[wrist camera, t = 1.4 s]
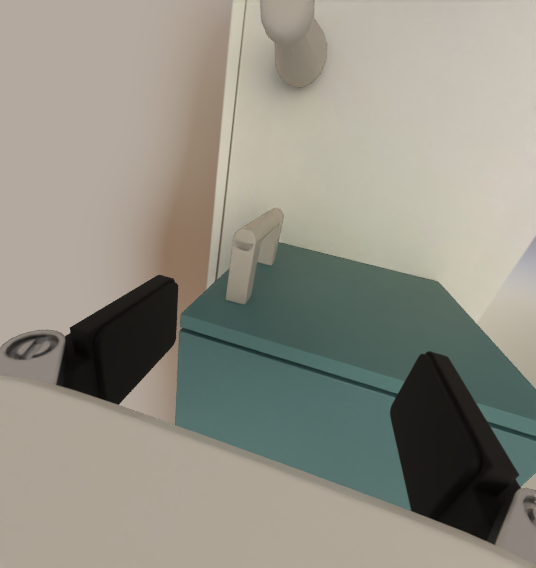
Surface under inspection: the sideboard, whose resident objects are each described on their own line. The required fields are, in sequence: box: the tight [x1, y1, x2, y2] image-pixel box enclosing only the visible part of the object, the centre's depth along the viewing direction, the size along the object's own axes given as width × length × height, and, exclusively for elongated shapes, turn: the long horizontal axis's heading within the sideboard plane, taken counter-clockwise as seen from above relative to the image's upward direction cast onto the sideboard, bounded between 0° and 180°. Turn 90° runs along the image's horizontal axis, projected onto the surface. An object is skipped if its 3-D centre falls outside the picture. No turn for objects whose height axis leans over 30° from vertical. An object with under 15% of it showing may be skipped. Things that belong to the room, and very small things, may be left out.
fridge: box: [175, 328, 536, 511], centre depth 33 cm, size 18×26×24 cm
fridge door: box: [180, 208, 536, 436], centre depth 28 cm, size 8×26×24 cm, turn 79°
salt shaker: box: [260, 0, 327, 87], centre depth 26 cm, size 6×6×13 cm
